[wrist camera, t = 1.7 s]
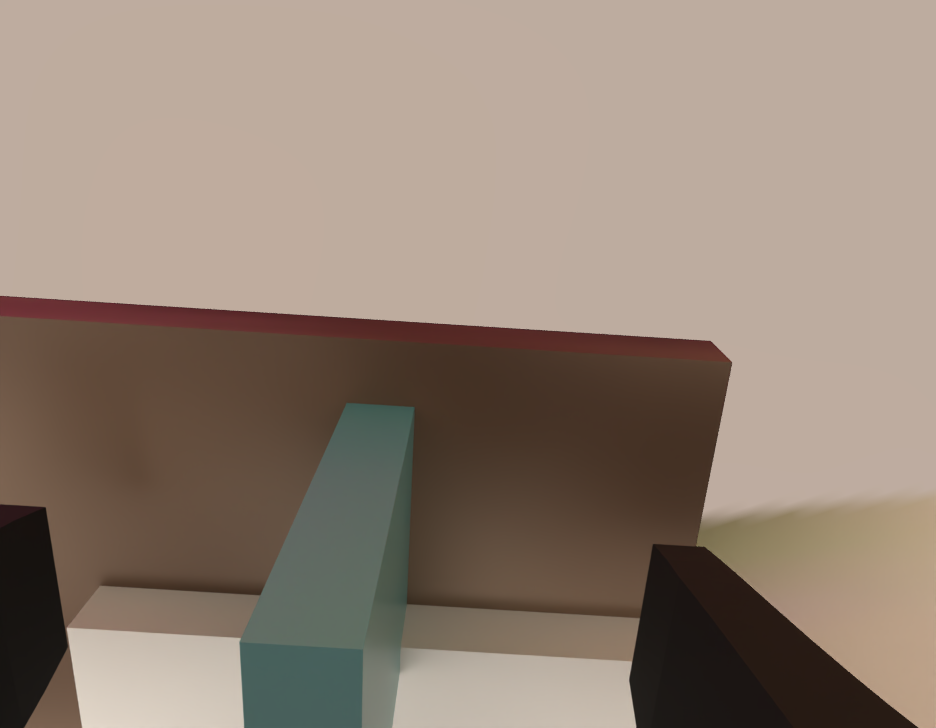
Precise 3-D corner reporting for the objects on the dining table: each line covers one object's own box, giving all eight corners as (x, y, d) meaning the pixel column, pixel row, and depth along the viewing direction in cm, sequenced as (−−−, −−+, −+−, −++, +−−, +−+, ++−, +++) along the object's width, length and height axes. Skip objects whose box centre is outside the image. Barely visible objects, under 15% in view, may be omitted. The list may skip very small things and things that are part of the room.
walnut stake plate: (599, 941, 16) (607, 994, 15) (56, 910, 16) (29, 961, 15) (710, 340, 11) (732, 362, 10) (-63, 291, 11) (-113, 308, 10)
